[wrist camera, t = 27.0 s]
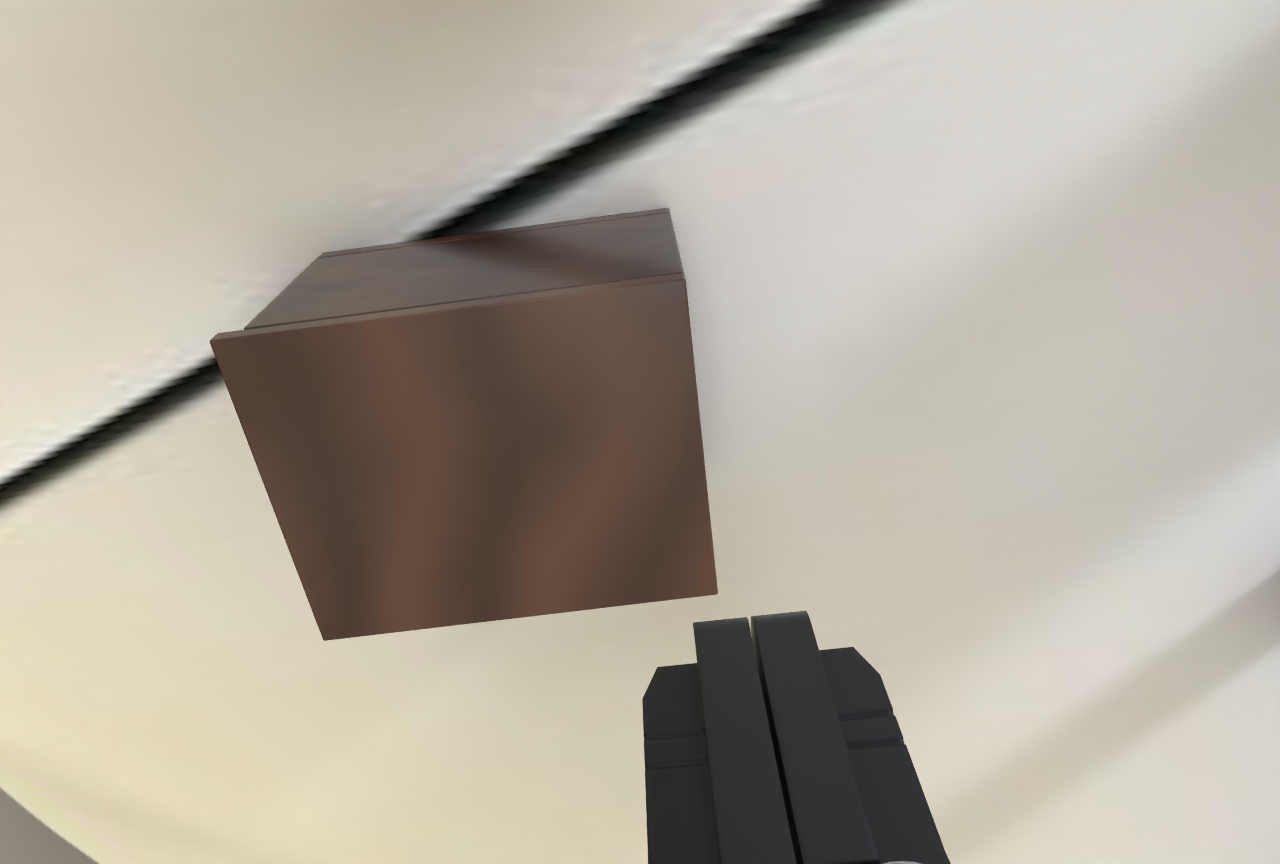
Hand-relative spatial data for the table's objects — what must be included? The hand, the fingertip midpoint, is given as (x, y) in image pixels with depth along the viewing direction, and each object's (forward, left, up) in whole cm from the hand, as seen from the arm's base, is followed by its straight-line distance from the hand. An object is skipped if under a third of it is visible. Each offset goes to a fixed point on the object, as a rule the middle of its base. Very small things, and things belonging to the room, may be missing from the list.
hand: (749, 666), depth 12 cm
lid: (+7, -7, -18) cm, 21 cm away
